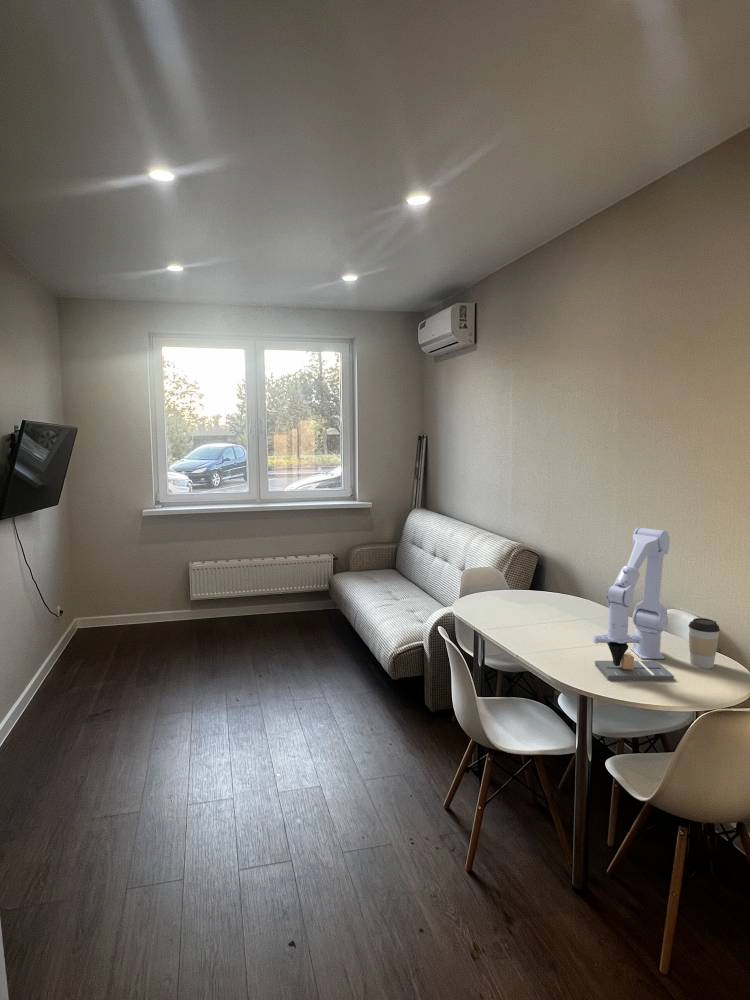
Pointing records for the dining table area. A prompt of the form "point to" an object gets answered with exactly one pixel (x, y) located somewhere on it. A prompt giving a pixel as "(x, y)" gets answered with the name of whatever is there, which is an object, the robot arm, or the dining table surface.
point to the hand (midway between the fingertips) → (616, 664)
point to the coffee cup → (703, 642)
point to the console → (635, 671)
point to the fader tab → (627, 661)
